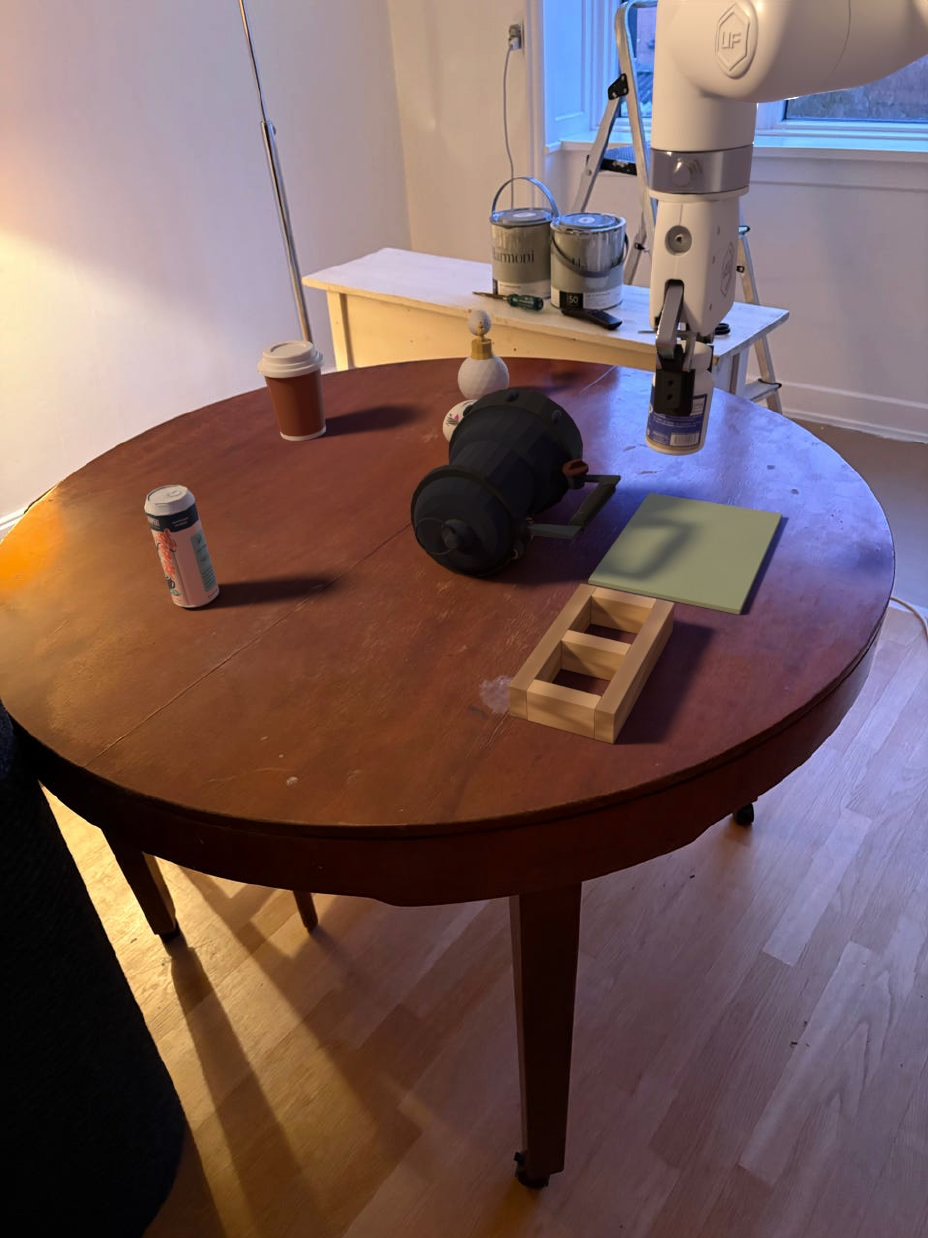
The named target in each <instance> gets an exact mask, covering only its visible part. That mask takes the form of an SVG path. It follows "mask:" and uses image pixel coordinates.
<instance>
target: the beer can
mask: <svg viewBox="0 0 928 1238" xmlns="http://www.w3.org/2000/svg"><path fill="white" fill-rule="evenodd" d="M143 509H144V512H145V514H146V518H147V521H148V524H149V527H150V531H151V533H152V537H153V540H154V543H155V547H156V550H157V553H158V557H159V559H160V563H161V566H162V568H163V573H164V575H165V579H166V582H167V586H168V589H169V592H170V595H171V596H170V597H171V599H172V602H173V603H174V604H175V605H176V606H179V607H181V608H189V609H193V608H200V607H204V606H206V605H207V604H209V603H211V602H212V601H213V600H214V599H216V597H217V596H218V595H219V593H220V588H219V586H218V582H217V578H216V574H215V571H214V567H213V564H212V563H213V562H212V559H211V556H210V552H209V548H208V545H207V540H206V537H205V534H204V529H203V526H202V523H201V518H200V513H199V511H198V507H197V503H196V498H195V495H194V494H193V493H192V492H191V491H190V490H189V489H188V487H187V486H184V485H182V484H181V485H180V484H168V485H163V486H160V487H157V488H155V489H153V490H152V491H150V492H149V493H148V494H147V495H146V499H145V504H144V507H143Z"/></svg>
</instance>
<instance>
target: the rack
mask: <svg viewBox="0 0 928 1238" xmlns="http://www.w3.org/2000/svg"><path fill="white" fill-rule="evenodd" d="M675 605H676V603H675V602H673V601H668V600H663V599H658V598H654V597H649V596H644V595H639V594H635V593H630V592H625V591H620V590H615V589H610V588H606V587H601V586H596V585H591V584H585V583H580V584H579V585H578V587H577V588H576V590H575V591H574V592H573V594H572V596H571V597H570V598H569V600H568V601H567V602H566V604H565V605H564V607H563V608H562V609H561V610H560V613H558V615H557V617H556V618H555V619H554V621H553V622H552V624H551V625H550V626H549V628H548V629H547V630H546V632H545V633H544V635H543V636H542V637H541V639H540V640H539V641H538V643H537V645H536V646H535V648H534V649H533V651H532V652H531V653H530V655H529V656H528V657H527V659H526V660H525V661H524V663H523V665H522V666H521V667H520V668H519V670H518V672H517V673H516V674H515V676H514V678H512V680H511V682H510V683H509V684H508V702H509V703H508V704H509V716H511V717H514V718H518V719H522V720H525V721H528V722H532V723H537V724H539V725H543V726H547V727H550V728H554V729H558V730H561V731H564V732H568V733H570V734H571V733H572V734H575V735H579V736H581V737H582V736H583V737H586V738H590V739H593V740H594V739H595V740H596V741H600V742H604V743H607V744H610V745H614V744H615V743H616V740H617V738H618V736H619V734H620V732H621V730H622V729H623V726H624V725H625V723H626V721H627V719H628V718H629V716H630V714H631V711H632V710H633V708H634V706H635V704H636V702H637V700H638V698H639V696H640V694H641V692H642V691H643V689H644V686H645V685H646V683H647V680H648V679H649V678H650V675H651V673H652V672H653V670H654V667H655V666H656V664H657V661H658V660H659V658H660V656H661V654H662V652H663V650H664V648H665V646H666V644H667V642H668V641H669V638H671V635H672V633H673V629H674V628H673V627H674V616H675ZM590 625H596V626H601V627H606V628H609V629H613V630H619V631H623V632H626V633H632V634H635V635H636V637H635V639H634V640H633V642H632V644H631V643H626V642H623V641H622V642H621V641H617V640H613V639H609V638H606V637H605V638H604V637H600V636H596V635H592V634H588V633H586V631H587V629H588V628H589V626H590ZM561 670H565V671H570V672H574V673H578V674H582V675H585V676H589V677H592V678H597V679H602V680H605V681H609V684H608V686H607V688H606V690H605V691H604V693H603V694H602V696H600V695H597V694H593V693H589V692H586V691H583V690H577V689H574V688H569V687H566V686H562V685H559V684H555V683H553V681H555V679H556V677H557V676H558V674H559V672H560V671H561Z"/></svg>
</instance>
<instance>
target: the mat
mask: <svg viewBox="0 0 928 1238" xmlns="http://www.w3.org/2000/svg"><path fill="white" fill-rule="evenodd" d="M782 519H783V514H782V513H780V512H775V511H774V512H773V511H768V510H761V509H754V508H750V507H749V508H748V507H742V506H735V505H728V504H724V503H716V502H710V501H704V500H697V499H692V498H686V497H679V496H674V495H665V494H659V493H654V492H648V494H647V495H646V496H645V498H644V499H643V500H642V502H641V504H640V505H639V507H637V509H636V511H635V512H634V514H633V515H632V516H631V517H630V519H629V521H628V522H627V523H626V525H625V527H624V528H623V529H622V531H621V532H620V533H619V535H618V536H617V538H616V539H615V540H614V542H613V544H612V545H611V546H610V548H609V549H608V551H607V552H606V554H605V555H604V557H603V558H602V559H601V560H600V562H599V563H598V565H597V566H596V568H595V569H594V570H593V572H592V574H591V575H589V578H588V585H592V586H596V587H601V588H606V589H611V590H616V591H621V592H625V593H630V594H635V595H640V596H645V597H650V598H655V599H659V600H664V601H669V602H674V603H675V602H676V603H680V604H685V605H690V606H694V607H699V608H705V609H710V610H714V611H719V612H723V613H729V614H734V615H739V616H740V615H741V613H742V611H743V608H744V606H745V604H746V601H747V599H748V596H749V594H750V592H751V590H752V587H753V585H754V583H755V580H756V579H757V576H758V573H759V572H760V570H761V567H762V565H763V563H764V560H765V557H766V555H767V553H768V551H769V548H770V546H771V544H772V541H773V539H774V537H775V535H776V532H777V530H778V528H779V526H780V523H781V521H782Z"/></svg>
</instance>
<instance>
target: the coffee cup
mask: <svg viewBox="0 0 928 1238" xmlns="http://www.w3.org/2000/svg"><path fill="white" fill-rule="evenodd" d="M323 366H325V355H324V354H322V353H321V352H319V351H318V350H317V349H316V347H315V344H314V343H312V342H311V341H308V340H300V339H299V340H298V339H292V340H284V341H279V342H275V343H273V344H269V345H268V346H266V347H265V348H264V349H263V350H262V357H261V359H260V360H258V362H257V366H256V369H257V372H258V373H259V374H260V375H262V376H263V377H264V380H265V383H266V388H267V391H268V394H269V398H270V401H271V404H272V405H271V406H272V408H273V412H274V415H275V418H276V423H277V426H278V429H279V433H280V437H282V439H284V440H287V441H291V442H292V441H293V442H301V441H309V440H312V439H316V438H318V437H320V436H322V435H323V434H324V433H325V432H326V431H327V427H326V418H325V406H324V405H325V404H324V395H323V394H324V393H323V392H324V391H323V380H322V379H323V378H322V369H321V368H323Z"/></svg>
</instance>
